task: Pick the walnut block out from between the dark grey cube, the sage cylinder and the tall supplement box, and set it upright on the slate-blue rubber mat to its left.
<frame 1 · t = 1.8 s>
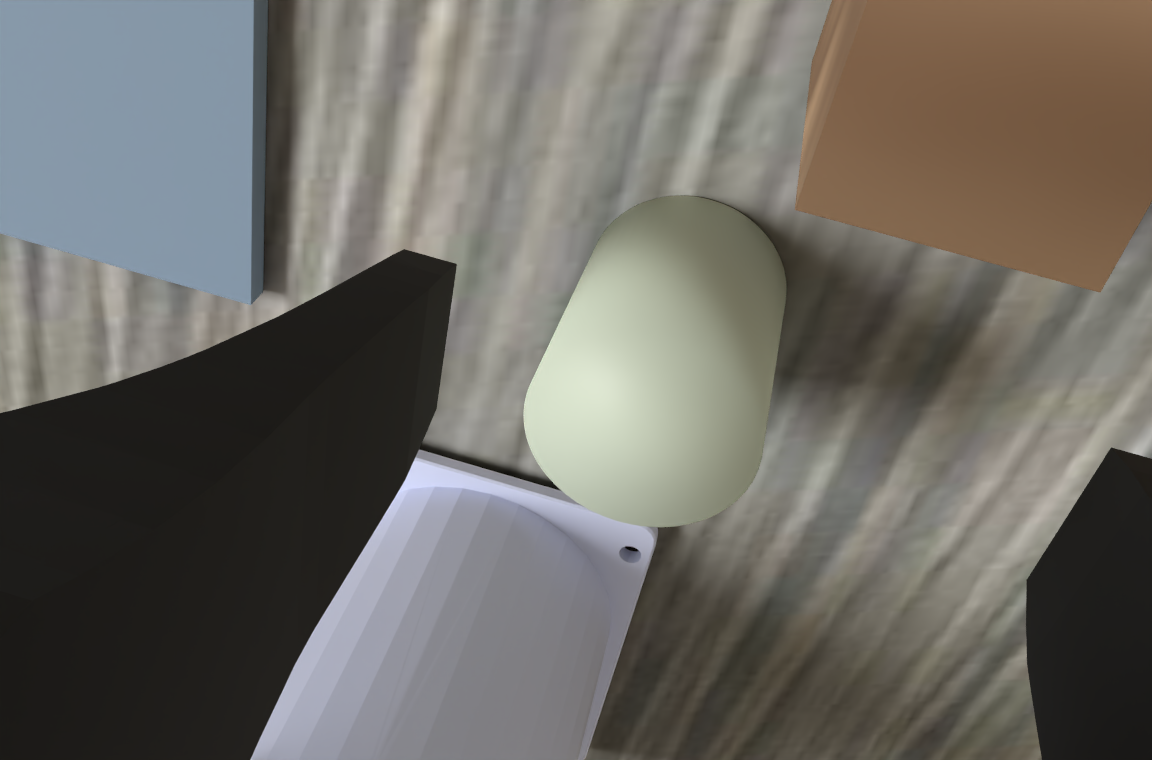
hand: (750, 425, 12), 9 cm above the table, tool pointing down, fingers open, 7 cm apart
sage cylinder: (685, 287, 22), on the table
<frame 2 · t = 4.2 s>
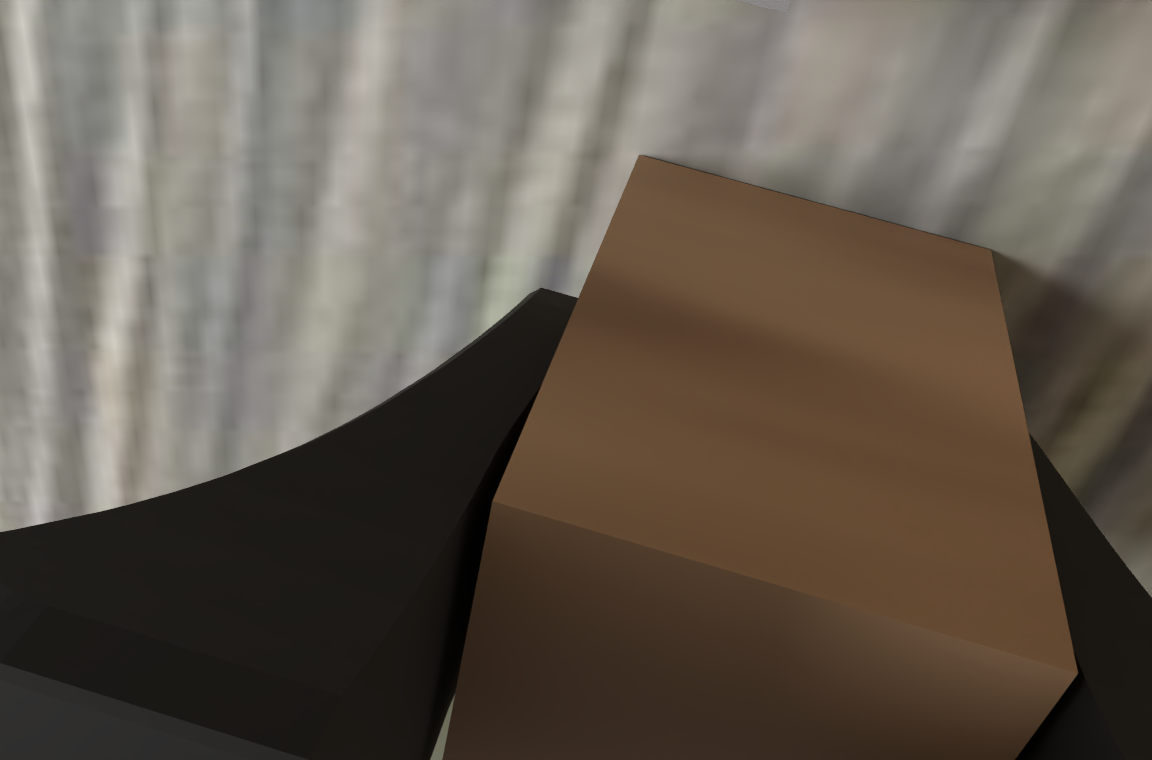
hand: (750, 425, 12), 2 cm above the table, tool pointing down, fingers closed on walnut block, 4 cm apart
sage cylinder: (456, 646, 18), on the table
walnut block: (761, 346, 13), on the table, touching gripper
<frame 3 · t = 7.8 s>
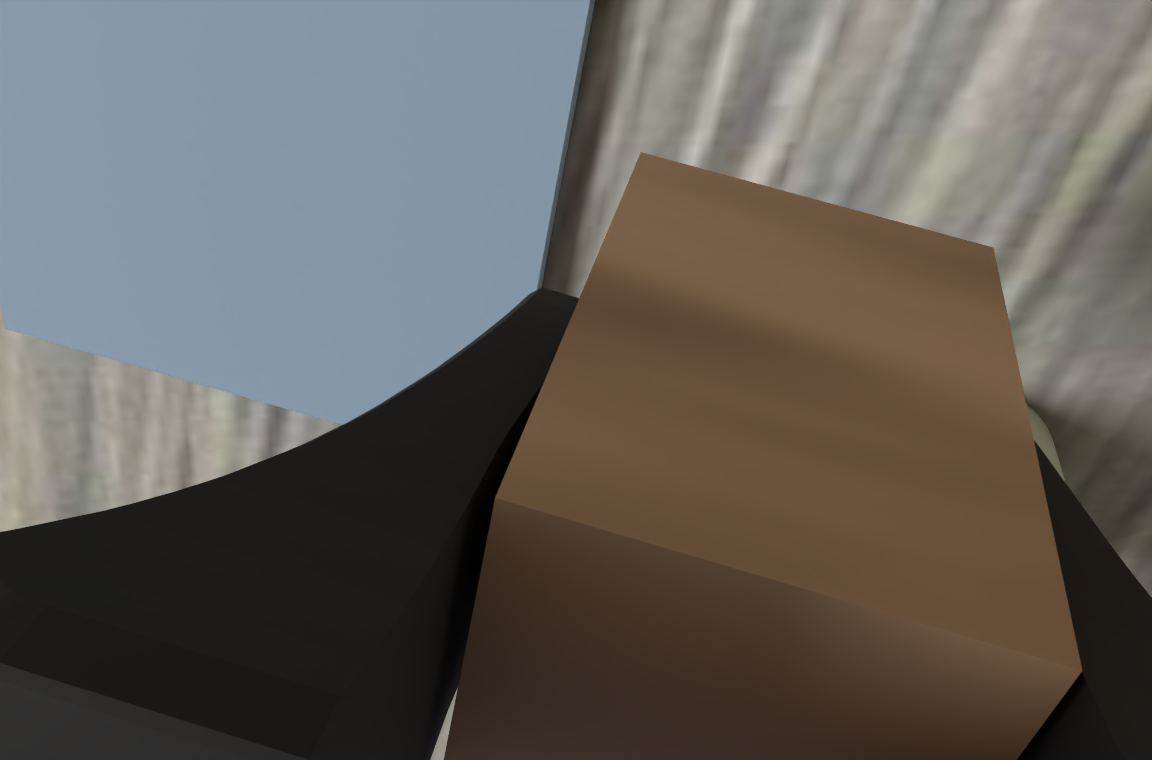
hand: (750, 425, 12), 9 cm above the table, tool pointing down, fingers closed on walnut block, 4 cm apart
sage cylinder: (950, 465, 22), on the table
walnut block: (763, 344, 13), point 7 cm above the table, touching gripper
slate mat: (263, 48, 20), on the table
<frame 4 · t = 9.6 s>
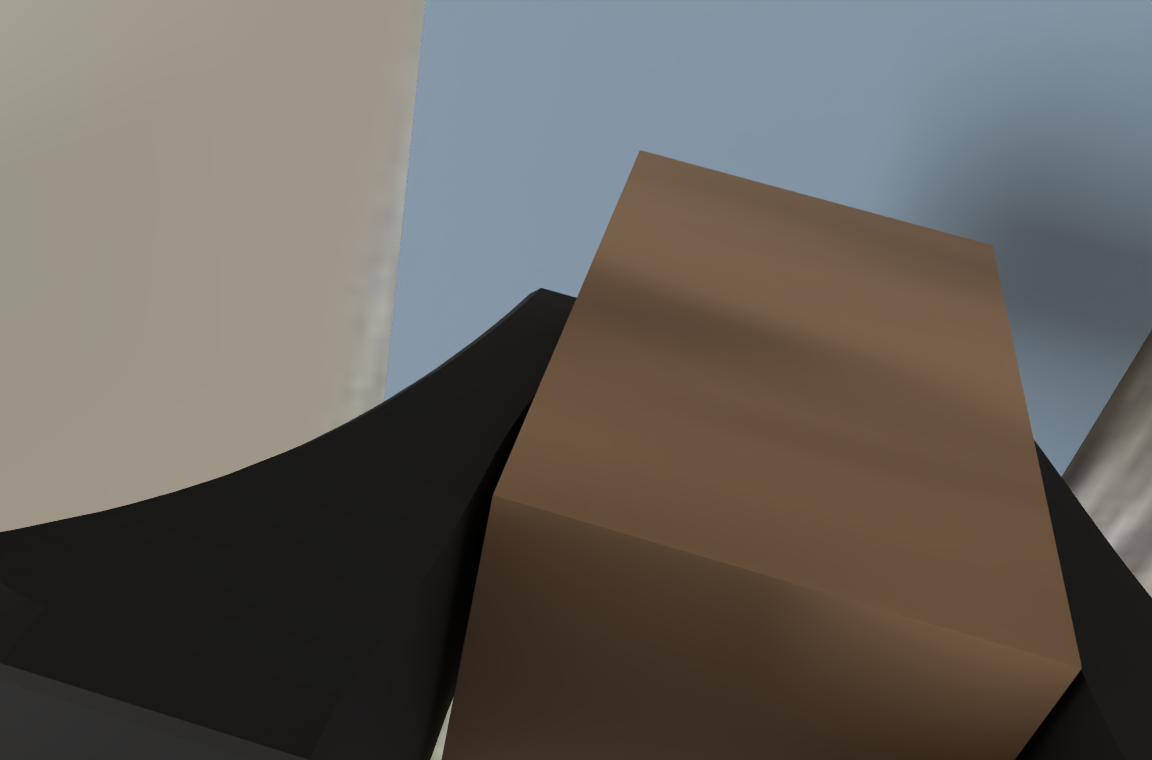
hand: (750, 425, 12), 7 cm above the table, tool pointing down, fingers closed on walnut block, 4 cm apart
walnut block: (762, 342, 13), point 5 cm above the table, touching gripper
slate mat: (786, 179, 17), on the table
when the fingers open (3 cm above the table, at t = 11.2 s): walnut block stays where it is, resting on slate mat.
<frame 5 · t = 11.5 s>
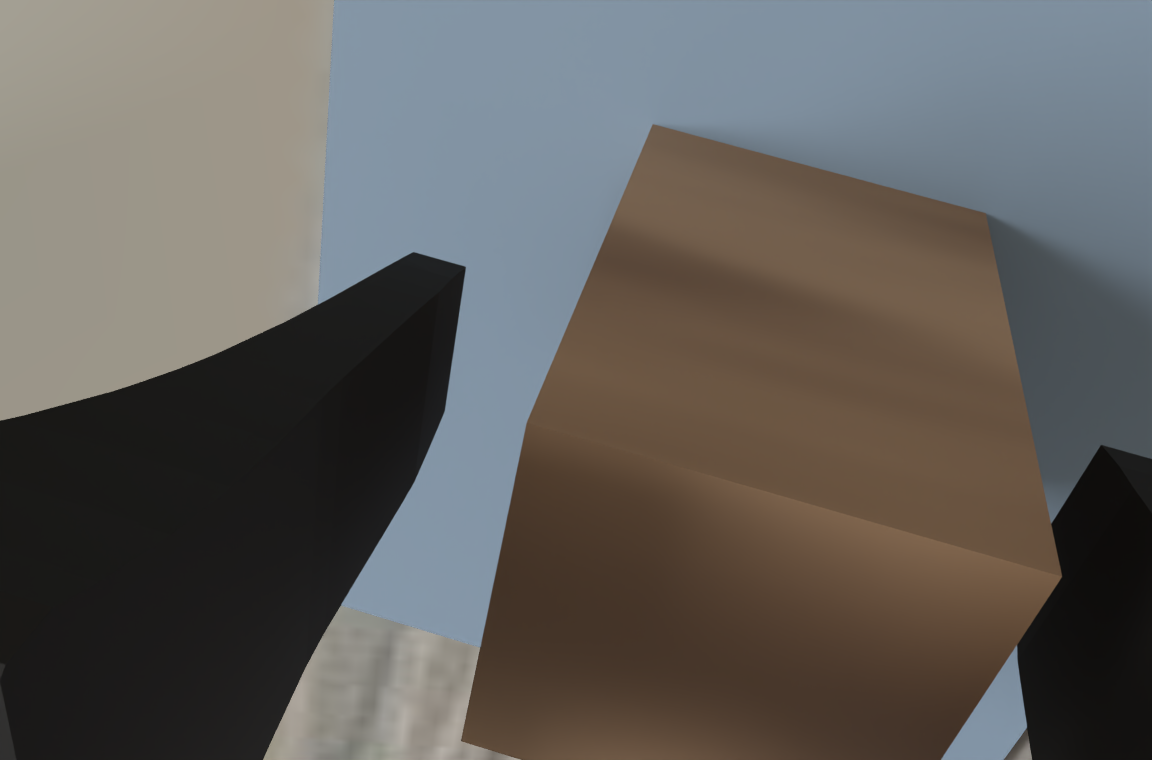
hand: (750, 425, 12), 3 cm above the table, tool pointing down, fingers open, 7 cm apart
walnut block: (768, 308, 14), point 1 cm above the table, touching slate mat
slate mat: (770, 287, 14), on the table
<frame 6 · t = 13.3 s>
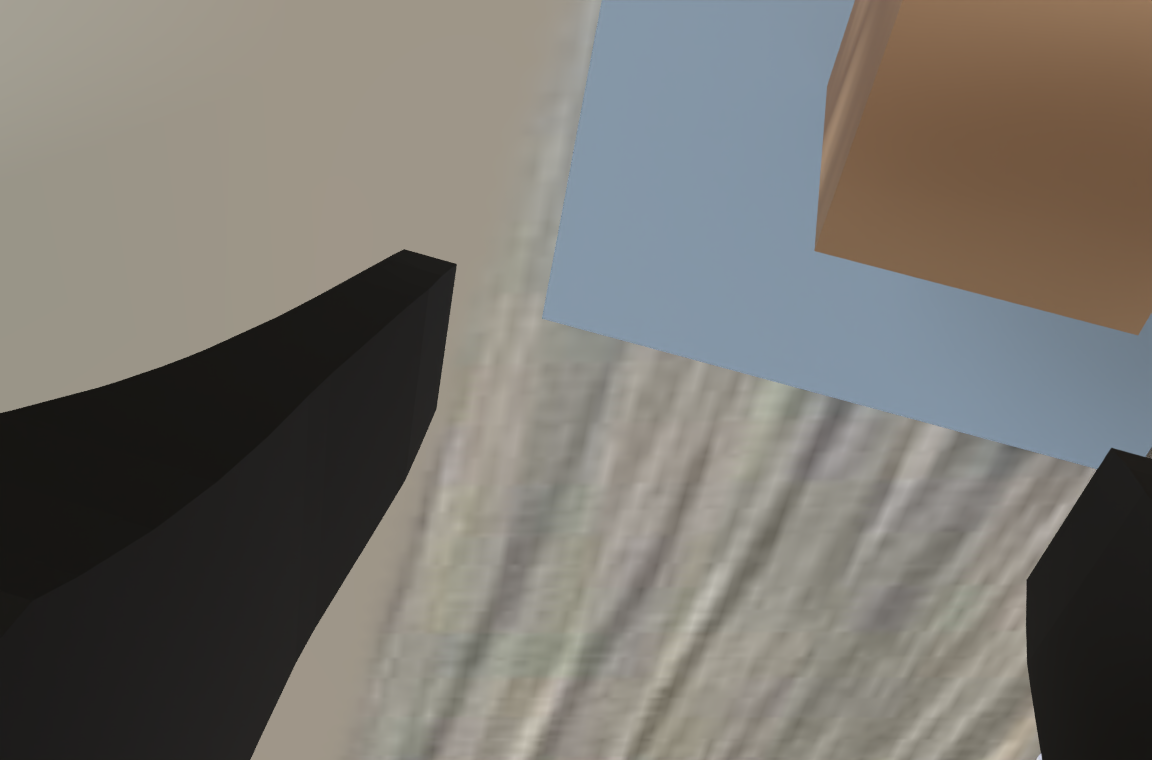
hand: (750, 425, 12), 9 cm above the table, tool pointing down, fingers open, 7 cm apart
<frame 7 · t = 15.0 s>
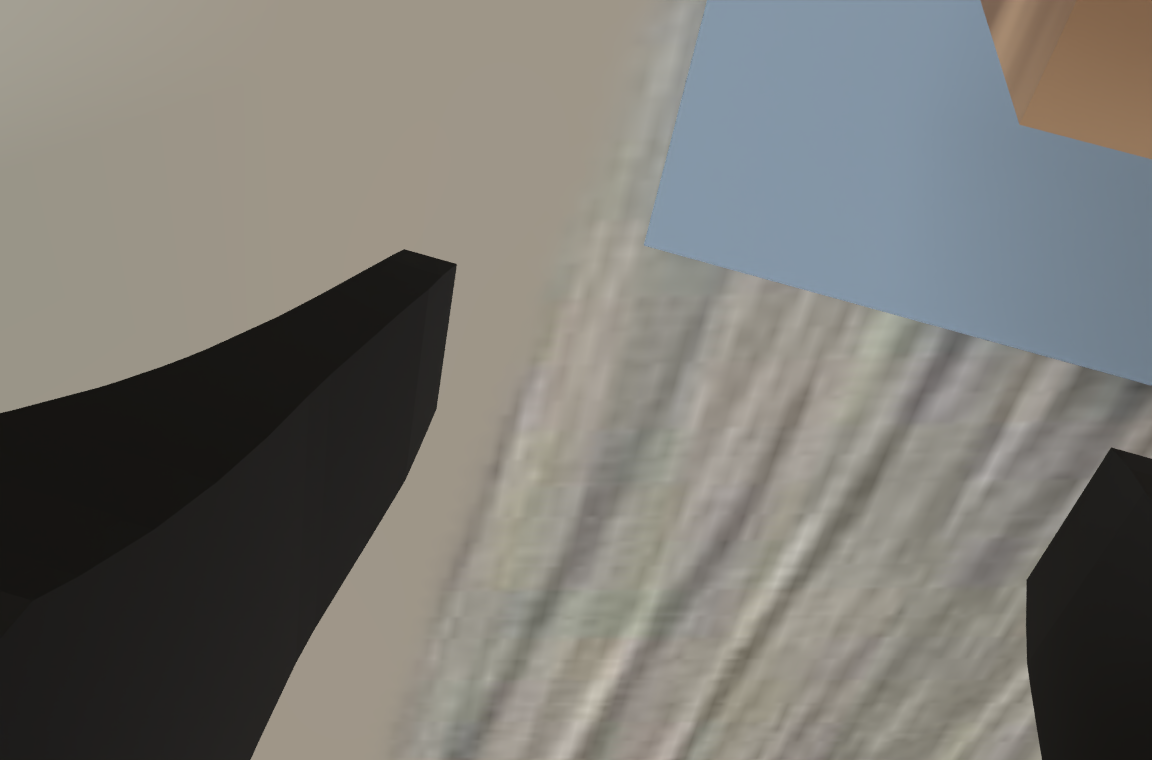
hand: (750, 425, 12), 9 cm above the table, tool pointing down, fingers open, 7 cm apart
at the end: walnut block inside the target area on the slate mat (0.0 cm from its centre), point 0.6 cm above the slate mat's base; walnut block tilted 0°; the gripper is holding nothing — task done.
